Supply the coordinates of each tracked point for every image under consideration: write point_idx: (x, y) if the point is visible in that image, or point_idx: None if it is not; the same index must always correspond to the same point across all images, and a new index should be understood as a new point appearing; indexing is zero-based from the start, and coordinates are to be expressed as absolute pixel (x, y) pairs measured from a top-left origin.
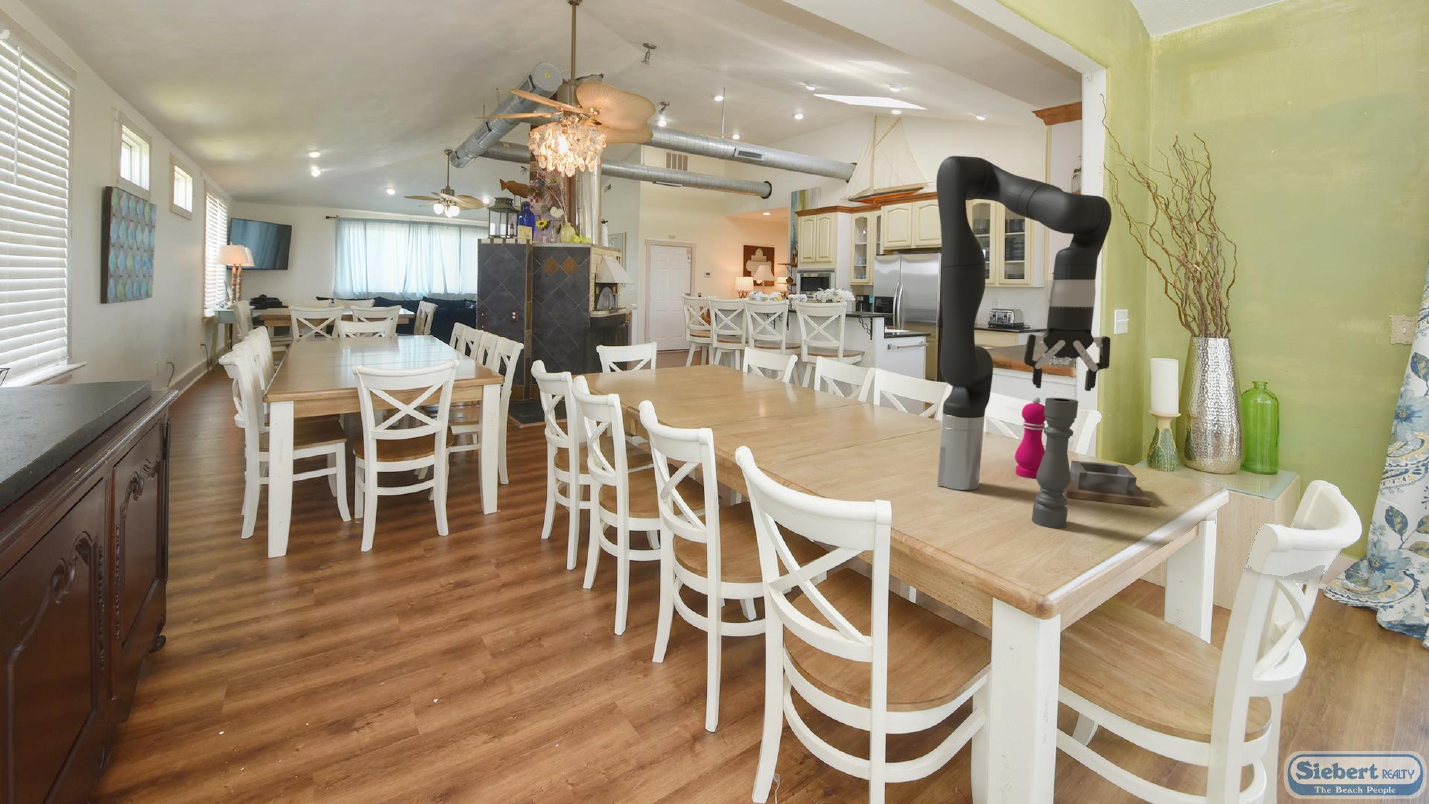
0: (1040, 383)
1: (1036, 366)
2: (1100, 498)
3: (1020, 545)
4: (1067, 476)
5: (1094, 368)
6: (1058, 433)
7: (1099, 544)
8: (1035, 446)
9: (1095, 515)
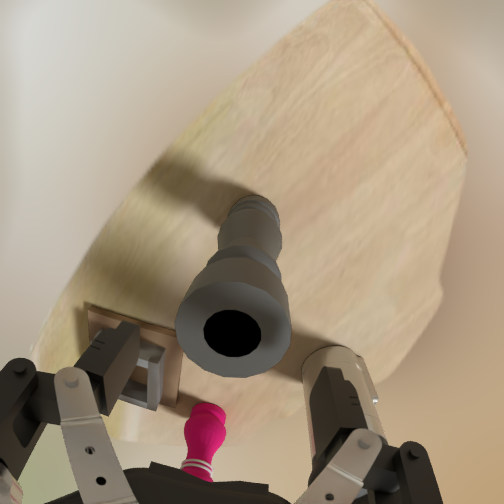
0: (331, 376)
1: (373, 438)
2: (143, 324)
3: (334, 116)
4: (231, 218)
5: (71, 376)
6: (255, 248)
7: (212, 135)
8: (200, 438)
9: (169, 262)
